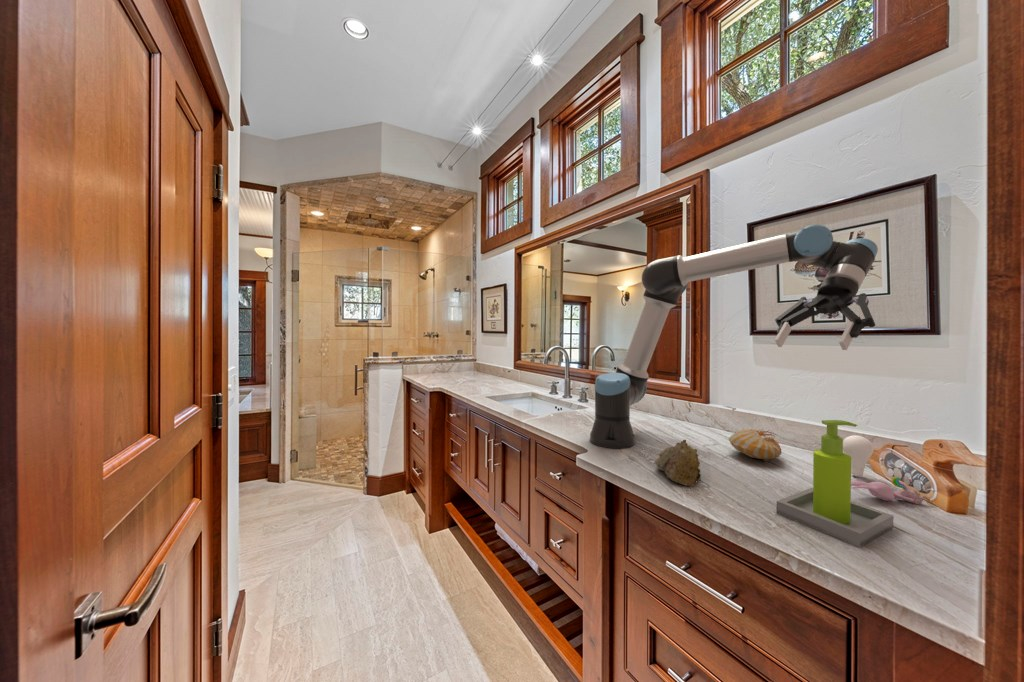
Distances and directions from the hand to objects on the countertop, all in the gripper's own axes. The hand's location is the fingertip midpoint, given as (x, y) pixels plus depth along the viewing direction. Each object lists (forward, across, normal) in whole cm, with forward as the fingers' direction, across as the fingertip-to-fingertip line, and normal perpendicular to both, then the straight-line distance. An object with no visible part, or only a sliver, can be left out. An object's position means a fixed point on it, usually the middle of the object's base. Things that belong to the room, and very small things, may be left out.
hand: (808, 344), depth 90 cm
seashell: (+41, +20, -10) cm, 47 cm away
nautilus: (+16, +18, -35) cm, 42 cm away
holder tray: (+34, -11, -16) cm, 39 cm away
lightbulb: (+12, -3, -39) cm, 41 cm away
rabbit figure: (+19, -12, -32) cm, 39 cm away
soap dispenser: (+34, -11, -16) cm, 39 cm away
